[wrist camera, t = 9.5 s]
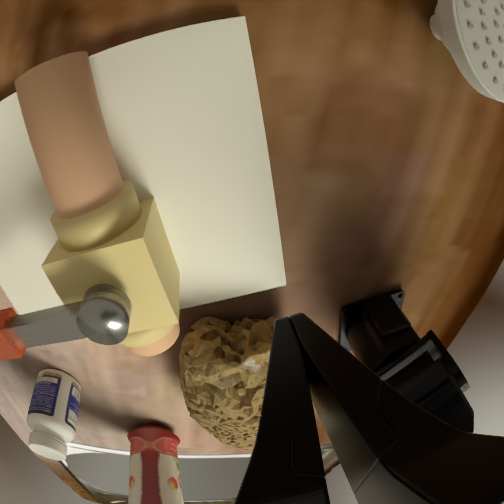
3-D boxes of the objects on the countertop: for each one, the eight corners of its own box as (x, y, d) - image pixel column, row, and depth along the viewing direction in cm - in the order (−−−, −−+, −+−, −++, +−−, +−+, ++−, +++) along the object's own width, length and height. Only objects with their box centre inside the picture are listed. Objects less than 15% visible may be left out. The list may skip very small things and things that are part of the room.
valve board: (283, 276, 24) (305, 332, 19) (38, 328, 23) (20, 379, 18) (242, 19, 14) (263, -5, 9) (-54, 142, 13) (-104, 171, 8)
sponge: (163, 306, 25) (194, 443, 32) (177, 365, 18) (211, 495, 25) (305, 280, 29) (293, 416, 36) (354, 321, 22) (322, 459, 30)
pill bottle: (34, 379, 26) (17, 446, 19) (45, 360, 25) (26, 435, 17) (73, 399, 29) (63, 466, 21) (89, 383, 27) (79, 457, 20)
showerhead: (468, -78, 5) (555, 28, 8) (399, -56, 11) (487, 20, 14) (441, 37, 9) (532, 134, 12) (364, 40, 15) (461, 108, 18)
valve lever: (119, 276, 14) (112, 304, 12) (140, 314, 15) (136, 343, 14) (-33, 316, 13) (-45, 337, 12) (-12, 343, 15) (-22, 364, 13)
